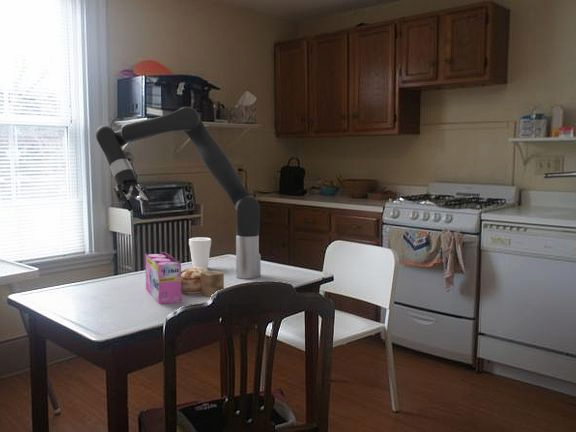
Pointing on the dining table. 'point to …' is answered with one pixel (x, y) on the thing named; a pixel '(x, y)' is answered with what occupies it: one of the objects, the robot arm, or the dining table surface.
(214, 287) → the walnut block
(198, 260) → the foam cup
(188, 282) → the trinket box
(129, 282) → the dining table surface
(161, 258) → the gum box
